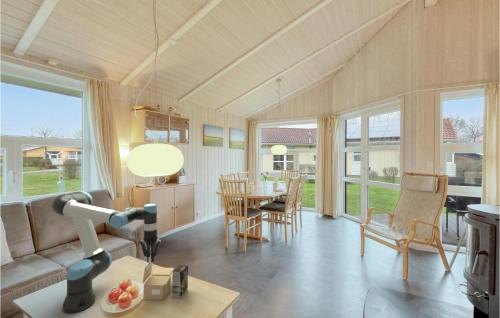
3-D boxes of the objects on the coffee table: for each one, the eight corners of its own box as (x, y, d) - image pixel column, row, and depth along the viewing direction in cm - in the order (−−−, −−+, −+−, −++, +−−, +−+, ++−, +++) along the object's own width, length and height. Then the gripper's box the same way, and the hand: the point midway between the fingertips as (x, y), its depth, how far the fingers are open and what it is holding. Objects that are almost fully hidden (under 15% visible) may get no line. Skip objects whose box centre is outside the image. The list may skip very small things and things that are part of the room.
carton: (143, 300, 135) (143, 284, 135) (156, 281, 156) (157, 267, 156) (164, 300, 135) (164, 284, 135) (175, 281, 156) (175, 268, 156)
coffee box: (181, 299, 137) (181, 272, 137) (171, 297, 139) (172, 271, 139) (188, 290, 146) (188, 265, 146) (179, 289, 148) (179, 264, 147)
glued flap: (142, 282, 136) (144, 267, 136) (149, 274, 146) (151, 260, 146) (144, 282, 136) (146, 268, 136) (151, 274, 146) (153, 260, 146)
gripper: (137, 231, 137) (137, 270, 137) (158, 231, 137) (158, 270, 138) (142, 227, 145) (143, 264, 145) (163, 227, 145) (163, 264, 145)
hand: (150, 267), depth 141 cm, fingers closed
